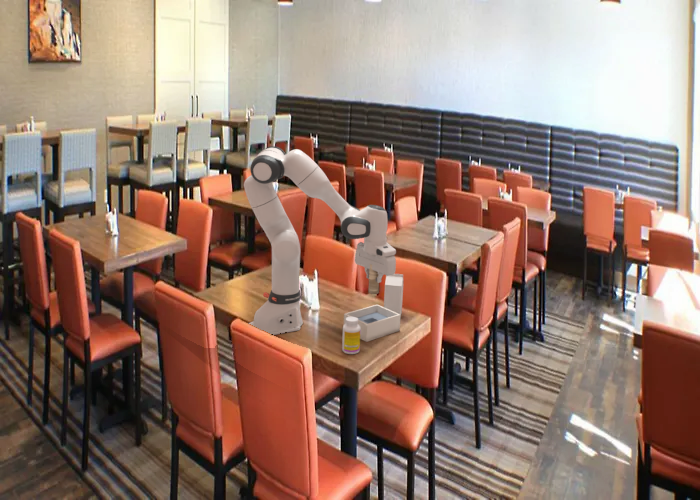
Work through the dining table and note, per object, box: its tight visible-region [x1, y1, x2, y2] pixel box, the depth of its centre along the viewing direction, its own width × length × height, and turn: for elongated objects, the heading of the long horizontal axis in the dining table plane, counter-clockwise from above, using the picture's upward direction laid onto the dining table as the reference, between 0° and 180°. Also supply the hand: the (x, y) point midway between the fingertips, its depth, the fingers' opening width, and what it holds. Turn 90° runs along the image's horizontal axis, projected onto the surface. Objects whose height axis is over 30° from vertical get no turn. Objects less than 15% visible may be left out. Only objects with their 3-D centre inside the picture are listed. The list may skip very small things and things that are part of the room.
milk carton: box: [383, 273, 404, 316], centre depth 250 cm, size 7×7×19 cm
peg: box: [368, 264, 380, 295], centre depth 231 cm, size 4×4×12 cm
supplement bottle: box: [341, 317, 361, 355], centre depth 216 cm, size 7×7×13 cm
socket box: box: [343, 304, 402, 342], centre depth 236 cm, size 18×14×7 cm
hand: (373, 280), depth 231 cm, fingers closed on peg, 4 cm apart
